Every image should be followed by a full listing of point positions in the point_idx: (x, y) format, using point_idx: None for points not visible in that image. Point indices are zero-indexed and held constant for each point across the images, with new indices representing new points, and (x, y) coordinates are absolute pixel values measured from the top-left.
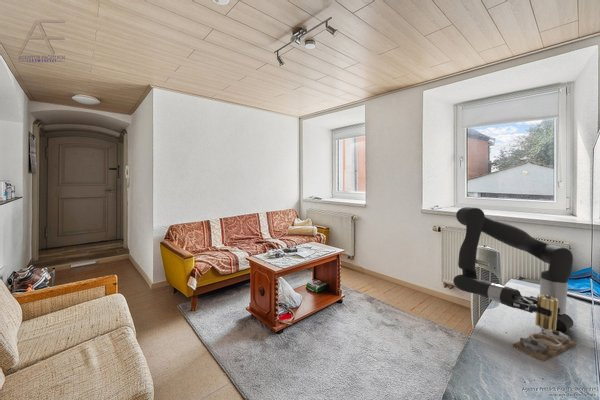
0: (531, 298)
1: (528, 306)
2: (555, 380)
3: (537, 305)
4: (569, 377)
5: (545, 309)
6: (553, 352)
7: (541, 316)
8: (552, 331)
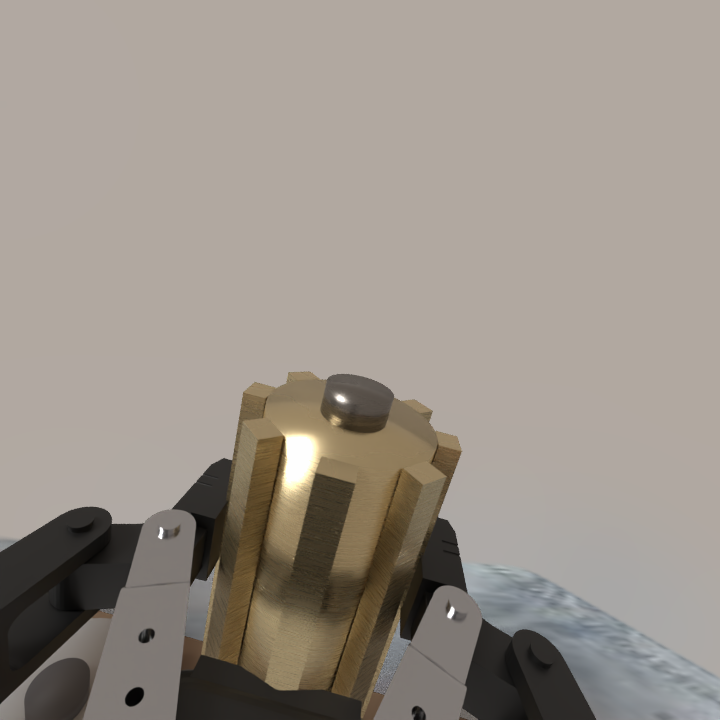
0: (137, 712)
1: (575, 706)
2: (604, 668)
3: (392, 601)
4: (513, 626)
5: (439, 530)
6: (383, 696)
7: (392, 636)
8: (56, 718)
